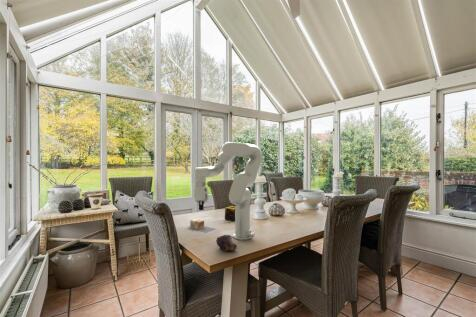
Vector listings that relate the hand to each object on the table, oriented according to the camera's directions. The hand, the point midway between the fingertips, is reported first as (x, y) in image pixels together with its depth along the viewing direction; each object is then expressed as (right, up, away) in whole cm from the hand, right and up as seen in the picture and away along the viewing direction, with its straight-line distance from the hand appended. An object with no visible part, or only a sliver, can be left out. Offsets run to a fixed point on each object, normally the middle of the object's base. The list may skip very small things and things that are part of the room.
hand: (201, 209), depth 160 cm
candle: (+22, -14, +26) cm, 37 cm away
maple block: (0, -11, -1) cm, 11 cm away
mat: (0, -14, 0) cm, 14 cm away
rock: (+19, -14, -37) cm, 44 cm away
